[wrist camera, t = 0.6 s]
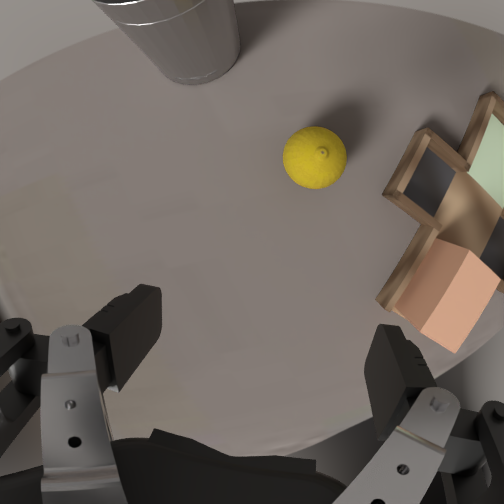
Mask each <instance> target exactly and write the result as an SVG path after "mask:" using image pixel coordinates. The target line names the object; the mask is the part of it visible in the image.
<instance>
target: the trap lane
mask: <svg viewBox="0 0 504 504" xmlns="http://www.w3.org/2000/svg"><path fill="white" fill-rule="evenodd" d="M491 114H493V115H494V116H495V117H496V118H497V119H498V120H499V121H500V122H501V123H502V124H503V125H504V101H503V100H502V99H501V98H500V97H499V96H498V95H497V94H496V93H495V92H494V91H492V92H489V93H486V94H484V95H481V96H480V97H479V100H478V103H477V105H476V108H475V110H474V113H473V116H472V118H471V121H470V123H469V126H468V128H467V130H466V133H465V135H464V138H463V140H462V142H461V144H460V147H459V149H458V151H457V152H456V151H455V150H454V149H453V148H452V147H450V146H449V145H448V144H447V143H446V142H445V141H444V140H442V139H441V138H440V137H439V136H438V135H437V134H435V133H434V132H433V131H432V130H431V129H429V128H425V129H422V130H419V131H416V132H415V134H414V136H413V138H412V140H411V142H410V143H409V145H408V147H407V149H406V151H405V153H404V155H403V157H402V159H401V161H400V163H399V164H398V166H397V168H396V170H395V172H394V174H393V176H392V177H391V179H390V181H389V183H388V185H387V186H386V188H385V190H384V192H383V194H382V195H383V196H384V197H385V198H387V199H388V200H390V201H391V202H392V203H394V204H395V205H396V206H398V207H399V208H400V209H402V210H403V211H404V212H406V213H407V214H408V215H410V216H411V217H412V218H414V219H415V220H416V221H418V222H419V223H420V224H421V225H420V227H419V229H418V231H417V232H416V234H415V236H414V238H413V239H412V241H411V243H410V245H409V246H408V248H407V250H406V251H405V253H404V255H403V256H402V258H401V260H400V261H399V263H398V265H397V266H396V268H395V270H394V271H393V273H392V274H391V276H390V277H389V279H388V281H387V282H386V284H385V285H384V287H383V288H382V290H381V292H380V293H379V295H378V296H377V298H376V299H375V300H376V301H377V302H378V303H379V304H380V305H381V306H382V307H383V308H384V309H385V310H387V311H388V312H390V311H391V310H392V311H394V312H396V313H397V314H399V315H401V316H402V317H404V316H403V315H402V314H401V313H400V312H399V311H398V310H397V309H396V308H395V307H394V306H395V304H396V303H397V301H398V300H399V298H400V296H401V295H402V293H403V292H404V290H405V289H406V287H407V286H408V284H409V282H410V281H411V279H412V278H413V276H414V274H415V273H416V271H417V269H418V268H419V266H420V264H421V263H422V261H423V259H424V258H425V256H426V254H427V252H428V251H429V249H430V247H431V245H432V244H433V242H434V240H435V238H437V239H440V240H443V241H446V242H449V243H452V244H455V245H457V246H460V247H463V248H466V249H469V250H470V251H471V252H473V253H474V254H475V255H476V256H477V257H478V258H479V259H480V260H481V261H482V262H483V263H484V264H485V265H486V266H488V267H489V268H490V269H491V270H492V271H493V272H494V273H495V274H496V275H497V276H498V277H499V278H500V279H501V280H500V282H499V284H498V286H497V288H496V289H497V290H498V291H500V292H502V293H504V208H503V209H502V208H501V206H500V205H499V204H498V203H497V202H496V201H495V200H494V199H493V198H492V197H491V196H490V195H489V194H488V193H487V192H486V191H485V190H484V189H483V188H482V186H481V185H480V184H479V183H477V182H476V181H475V180H474V179H473V178H472V177H471V176H470V175H469V174H468V173H467V172H469V170H470V168H471V165H472V163H473V161H474V158H475V156H476V154H477V151H478V149H479V146H480V144H481V141H482V139H483V136H484V133H485V131H486V128H487V126H488V123H489V120H490V117H491ZM404 318H405V317H404ZM405 319H406V318H405Z"/></svg>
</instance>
